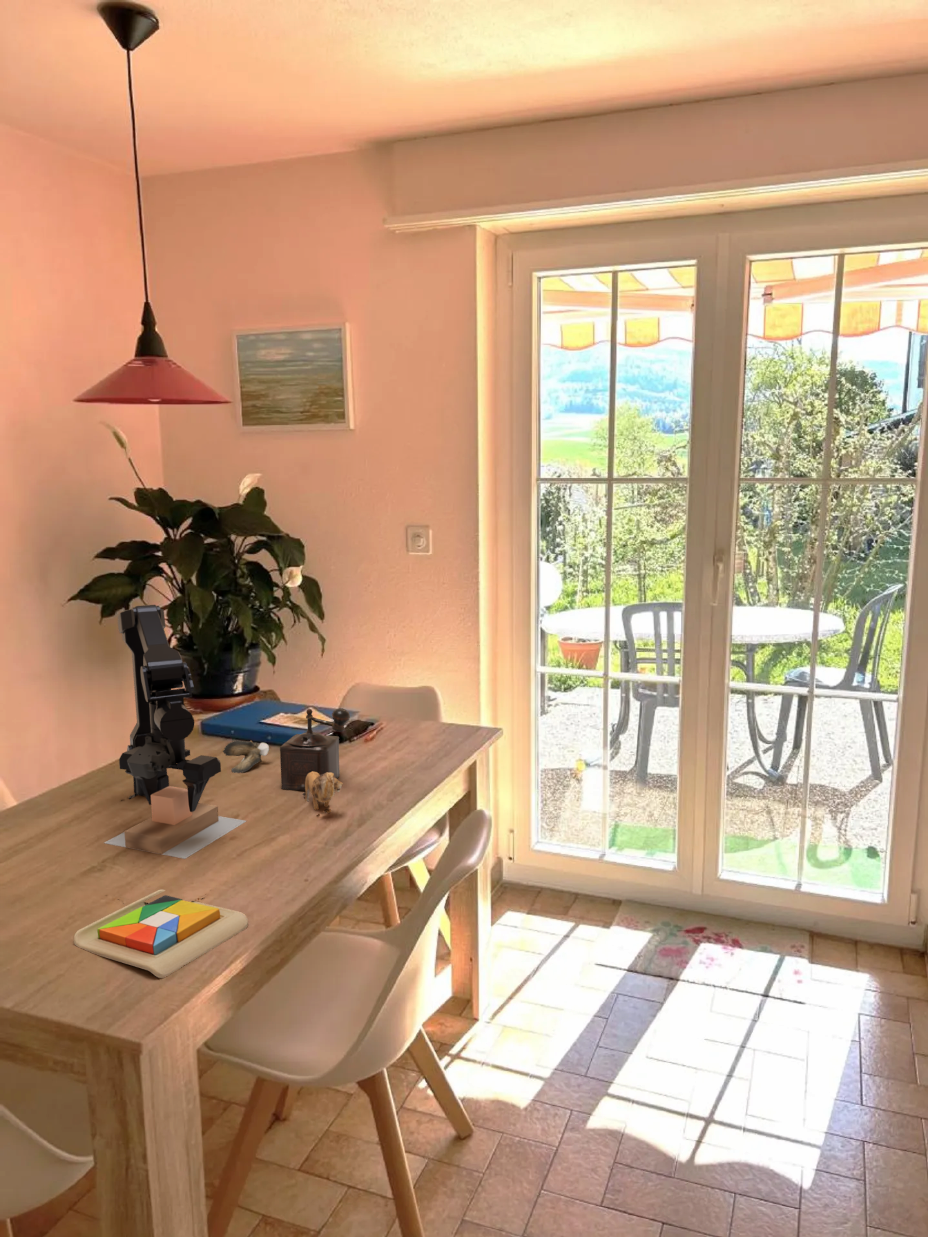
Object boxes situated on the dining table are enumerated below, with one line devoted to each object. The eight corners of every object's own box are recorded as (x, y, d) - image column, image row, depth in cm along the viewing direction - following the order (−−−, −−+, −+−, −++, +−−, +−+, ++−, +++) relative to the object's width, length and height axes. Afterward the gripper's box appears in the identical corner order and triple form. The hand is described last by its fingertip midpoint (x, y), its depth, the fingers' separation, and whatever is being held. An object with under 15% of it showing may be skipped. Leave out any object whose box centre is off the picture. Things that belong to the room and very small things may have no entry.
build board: (104, 849, 161) (103, 842, 161) (170, 813, 177) (170, 807, 177) (185, 865, 154) (185, 858, 154) (247, 826, 171) (246, 820, 171)
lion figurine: (346, 817, 176) (345, 773, 174) (321, 823, 173) (320, 778, 171) (314, 794, 188) (313, 753, 186) (290, 800, 185) (289, 758, 183)
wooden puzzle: (166, 898, 144) (164, 877, 143) (252, 928, 134) (251, 906, 134) (70, 947, 129) (68, 924, 129) (159, 985, 120) (157, 960, 119)
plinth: (125, 847, 159) (124, 831, 158) (184, 815, 174) (183, 800, 173) (161, 854, 156) (160, 838, 156) (218, 820, 171) (217, 806, 170)
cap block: (152, 821, 163) (150, 795, 162) (170, 811, 168) (169, 786, 167) (174, 825, 161) (172, 798, 160) (192, 815, 166) (191, 789, 165)
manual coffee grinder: (278, 790, 190) (275, 708, 187) (296, 773, 201) (293, 695, 198) (348, 794, 188) (346, 711, 185) (363, 777, 198) (361, 698, 196)
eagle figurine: (242, 753, 211) (216, 757, 203) (257, 730, 210) (231, 733, 202) (262, 775, 209) (236, 779, 201) (277, 751, 207) (252, 755, 199)
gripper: (93, 732, 157) (100, 816, 160) (179, 744, 151) (184, 831, 153) (138, 716, 168) (143, 795, 170) (220, 726, 161) (224, 809, 163)
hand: (172, 807), depth 164 cm, fingers open, 9 cm apart
